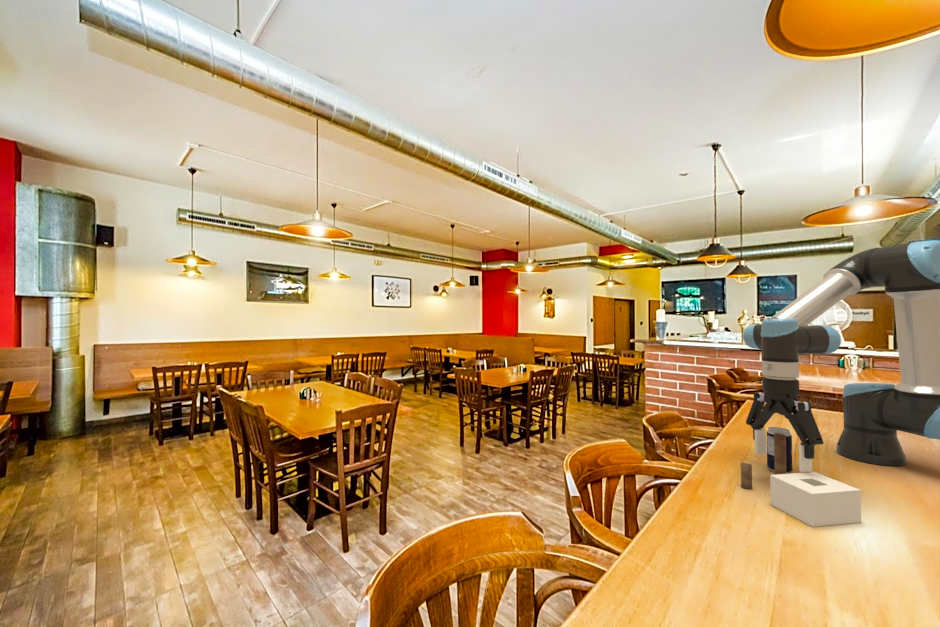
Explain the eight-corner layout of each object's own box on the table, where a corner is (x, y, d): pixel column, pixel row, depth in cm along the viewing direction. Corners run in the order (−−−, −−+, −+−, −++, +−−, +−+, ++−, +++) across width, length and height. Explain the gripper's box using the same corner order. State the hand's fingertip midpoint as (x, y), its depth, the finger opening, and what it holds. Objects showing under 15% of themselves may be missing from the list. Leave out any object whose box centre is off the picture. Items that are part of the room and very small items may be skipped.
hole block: (814, 500, 94) (814, 471, 94) (861, 522, 84) (860, 490, 85) (770, 504, 93) (770, 475, 93) (812, 526, 83) (812, 493, 83)
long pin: (780, 486, 102) (779, 433, 103) (789, 490, 100) (788, 435, 100) (772, 487, 102) (771, 433, 102) (780, 491, 100) (780, 436, 100)
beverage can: (797, 475, 109) (796, 432, 109) (773, 474, 110) (773, 431, 110) (785, 467, 115) (784, 427, 115) (763, 466, 116) (762, 426, 116)
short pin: (746, 485, 103) (746, 462, 103) (754, 489, 101) (754, 466, 101) (738, 485, 103) (738, 463, 103) (746, 489, 101) (745, 466, 101)
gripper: (730, 372, 112) (731, 447, 112) (814, 385, 89) (816, 481, 88) (753, 371, 113) (754, 446, 113) (842, 384, 90) (845, 479, 89)
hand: (781, 462), depth 101 cm, fingers open, 12 cm apart
